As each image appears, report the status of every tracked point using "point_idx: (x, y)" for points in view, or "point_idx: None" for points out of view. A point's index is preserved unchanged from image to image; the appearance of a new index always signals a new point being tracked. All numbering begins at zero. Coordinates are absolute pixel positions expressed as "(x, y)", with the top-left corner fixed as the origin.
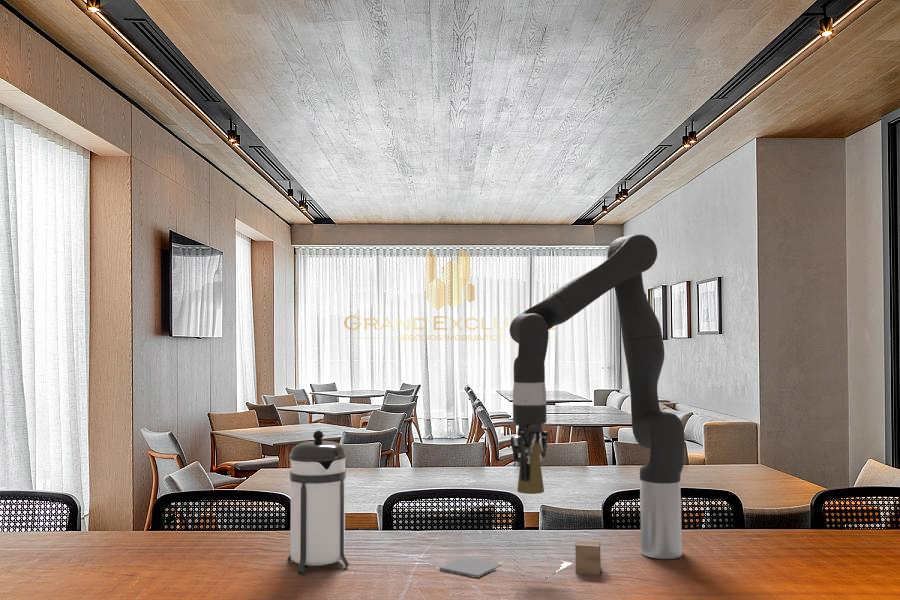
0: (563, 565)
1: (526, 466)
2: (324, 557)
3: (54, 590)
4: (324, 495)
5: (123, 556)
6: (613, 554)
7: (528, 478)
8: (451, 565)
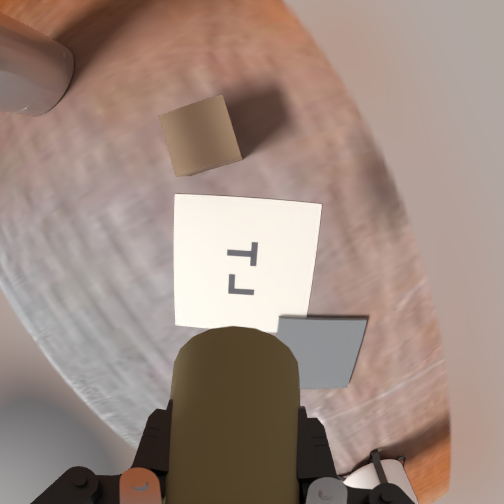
0: (203, 205)
1: (329, 472)
2: (398, 463)
3: (446, 487)
4: None
5: None
6: (75, 149)
7: (306, 416)
8: (329, 380)
